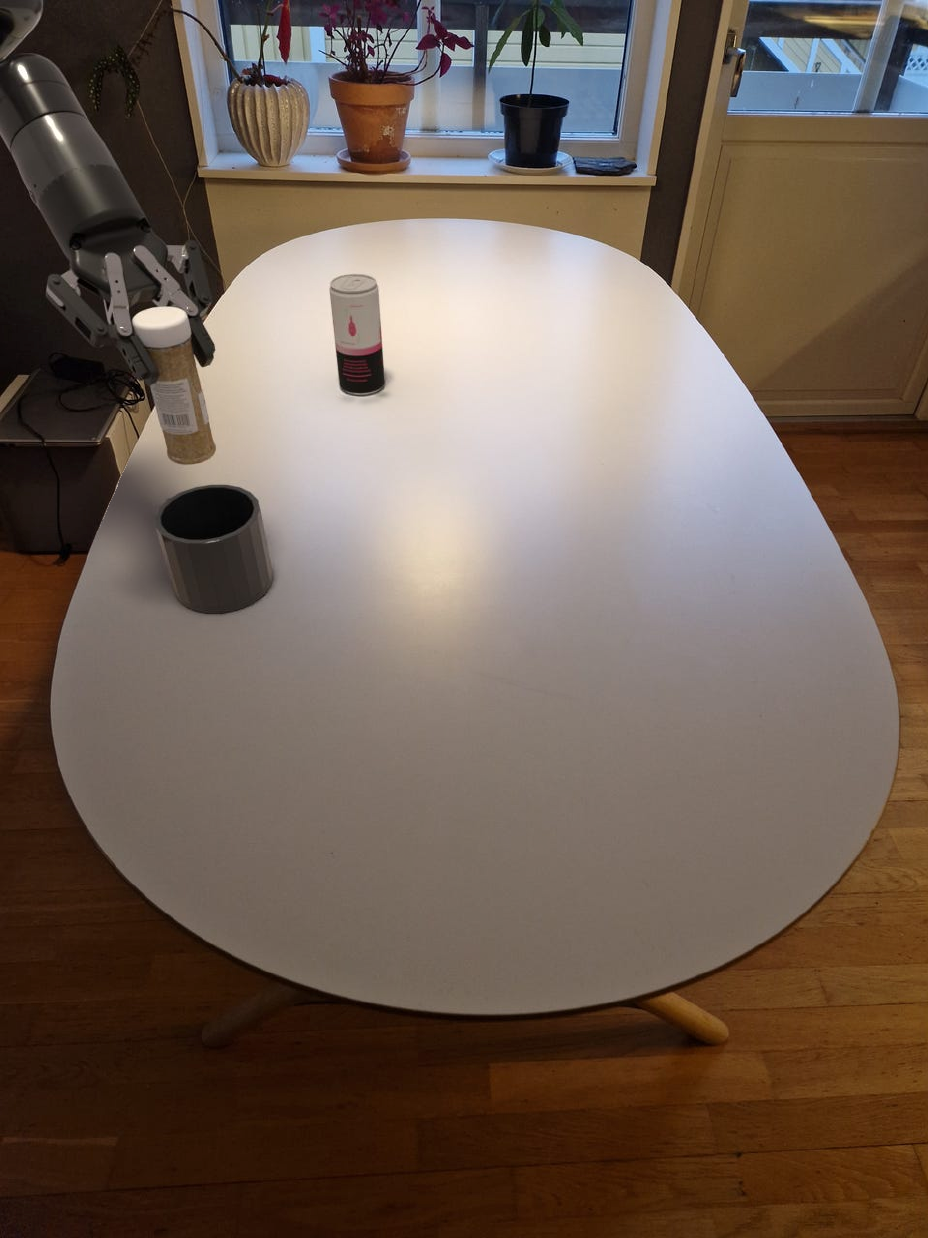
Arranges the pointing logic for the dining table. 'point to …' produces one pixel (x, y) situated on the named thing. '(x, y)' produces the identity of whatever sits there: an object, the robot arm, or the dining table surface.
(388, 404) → the dining table surface
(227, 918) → the dining table surface
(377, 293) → the beverage can
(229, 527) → the dark gray cylindrical container
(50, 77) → the robot arm
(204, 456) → the sprinkles bottle
